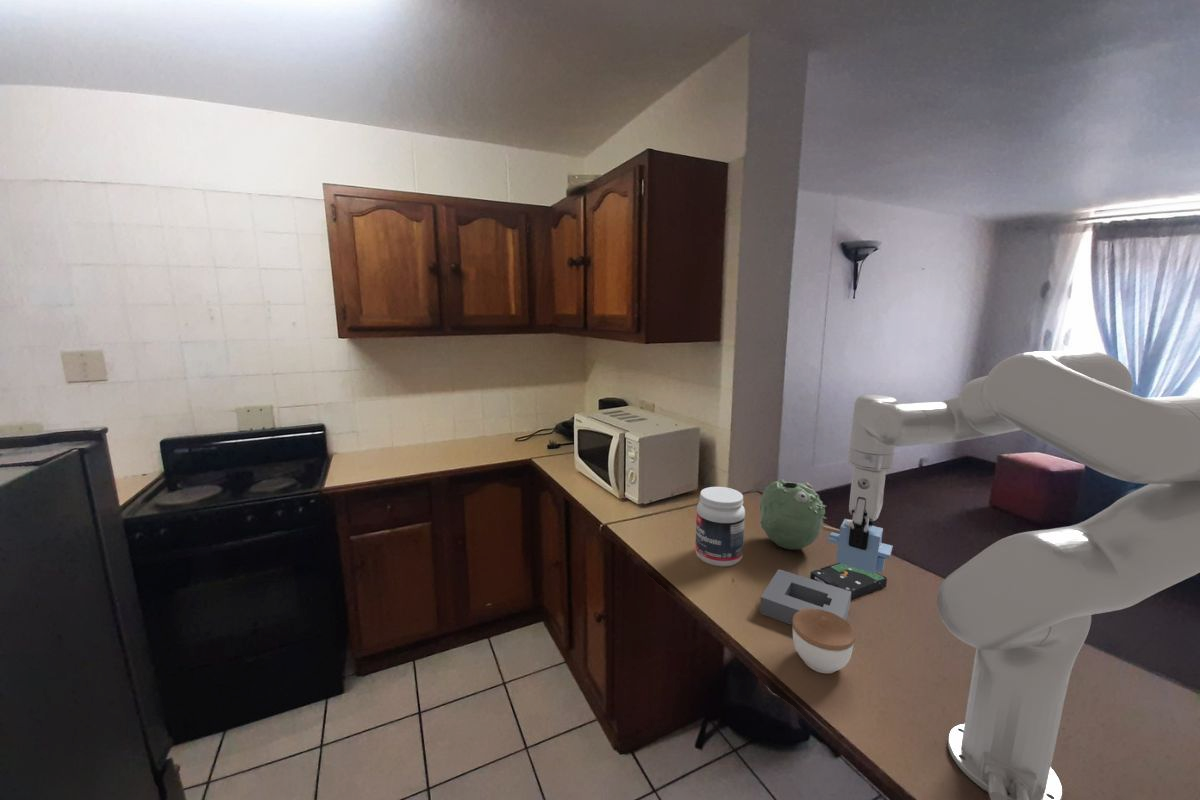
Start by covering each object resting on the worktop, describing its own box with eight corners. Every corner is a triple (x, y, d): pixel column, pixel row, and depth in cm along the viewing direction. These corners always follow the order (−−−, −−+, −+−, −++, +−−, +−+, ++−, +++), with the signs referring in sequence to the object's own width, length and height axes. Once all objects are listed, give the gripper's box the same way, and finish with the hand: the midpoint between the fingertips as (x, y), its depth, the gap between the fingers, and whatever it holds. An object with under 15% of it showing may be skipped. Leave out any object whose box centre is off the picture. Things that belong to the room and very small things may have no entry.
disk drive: (845, 604, 106) (887, 587, 112) (846, 593, 106) (888, 577, 112) (809, 581, 116) (848, 567, 122) (809, 571, 115) (849, 557, 121)
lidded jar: (863, 669, 86) (868, 624, 84) (828, 692, 81) (832, 645, 79) (812, 635, 95) (816, 594, 94) (778, 654, 90) (781, 611, 88)
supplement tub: (685, 555, 127) (687, 493, 124) (712, 540, 136) (714, 481, 132) (725, 574, 118) (728, 507, 114) (751, 557, 126) (755, 494, 123)
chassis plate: (838, 642, 93) (840, 624, 92) (759, 612, 102) (760, 596, 102) (849, 607, 104) (851, 591, 103) (777, 583, 114) (778, 569, 113)
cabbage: (773, 527, 144) (777, 466, 140) (833, 550, 129) (840, 483, 126) (743, 542, 135) (746, 477, 131) (804, 569, 120) (810, 497, 116)
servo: (889, 567, 93) (895, 528, 91) (886, 577, 90) (892, 537, 88) (822, 547, 101) (826, 511, 99) (817, 556, 97) (821, 519, 95)
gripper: (886, 474, 81) (874, 567, 85) (897, 450, 94) (886, 532, 98) (840, 465, 86) (830, 553, 89) (856, 444, 99) (847, 522, 102)
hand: (859, 541), depth 94 cm, fingers closed on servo, 4 cm apart
